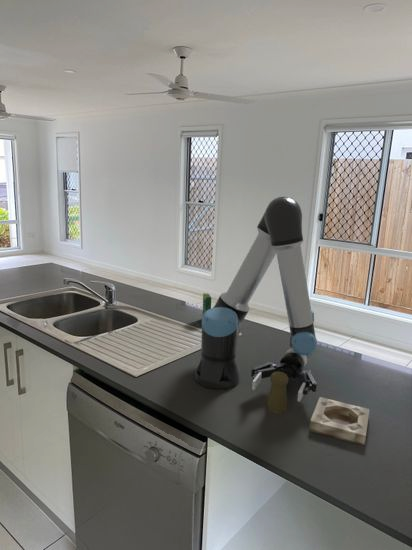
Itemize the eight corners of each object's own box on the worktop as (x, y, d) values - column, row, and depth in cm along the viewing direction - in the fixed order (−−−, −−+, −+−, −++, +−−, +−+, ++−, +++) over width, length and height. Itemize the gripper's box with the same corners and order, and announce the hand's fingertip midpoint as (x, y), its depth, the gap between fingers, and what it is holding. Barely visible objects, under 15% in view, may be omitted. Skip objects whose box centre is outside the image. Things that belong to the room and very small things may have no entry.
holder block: (309, 430, 108) (310, 420, 108) (318, 405, 121) (319, 396, 120) (364, 446, 103) (365, 435, 102) (368, 418, 115) (369, 409, 114)
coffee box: (201, 318, 195) (202, 292, 192) (207, 318, 195) (208, 292, 192) (204, 324, 187) (205, 297, 184) (210, 324, 188) (211, 297, 185)
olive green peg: (287, 414, 116) (290, 379, 113) (266, 411, 117) (268, 377, 114) (287, 403, 121) (290, 370, 119) (267, 400, 123) (269, 367, 120)
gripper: (330, 381, 129) (318, 414, 110) (257, 364, 139) (234, 392, 121) (332, 360, 127) (321, 389, 109) (258, 344, 138) (236, 369, 119)
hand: (275, 391), depth 115 cm, fingers open, 13 cm apart
